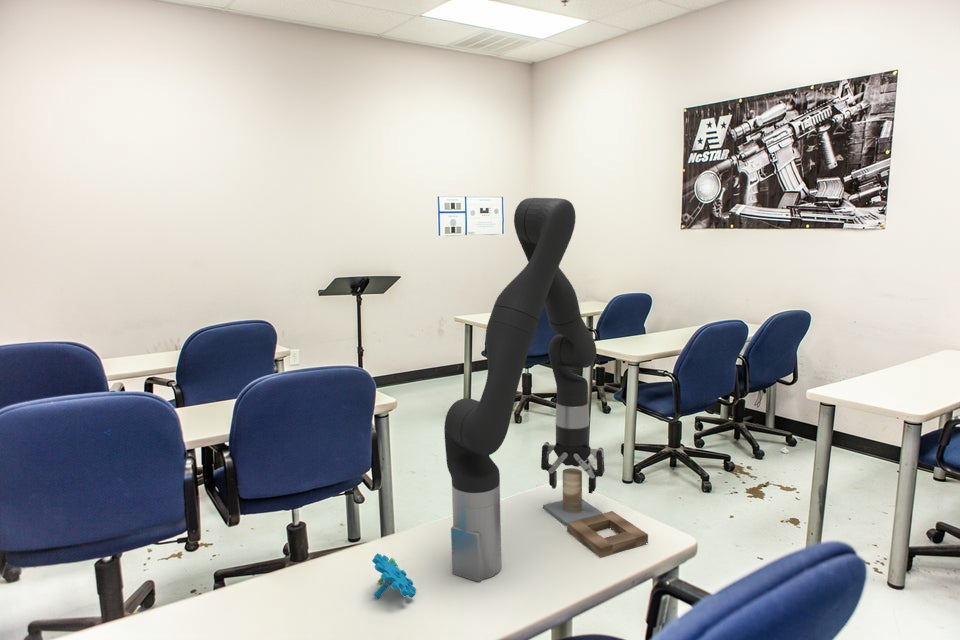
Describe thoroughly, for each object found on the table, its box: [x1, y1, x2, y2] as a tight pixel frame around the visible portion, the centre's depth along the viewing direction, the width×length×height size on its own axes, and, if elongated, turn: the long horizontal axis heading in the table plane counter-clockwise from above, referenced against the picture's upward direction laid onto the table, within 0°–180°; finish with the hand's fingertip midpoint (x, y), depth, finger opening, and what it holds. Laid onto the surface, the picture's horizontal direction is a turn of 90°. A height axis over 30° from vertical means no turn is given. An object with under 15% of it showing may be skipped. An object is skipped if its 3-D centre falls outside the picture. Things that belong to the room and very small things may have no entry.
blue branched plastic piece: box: [371, 553, 417, 600], centre depth 109 cm, size 11×6×10 cm
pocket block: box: [566, 510, 649, 558], centre depth 127 cm, size 12×12×2 cm
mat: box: [542, 498, 604, 527], centre depth 139 cm, size 10×10×1 cm
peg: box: [562, 467, 583, 513], centre depth 138 cm, size 4×4×9 cm
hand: (572, 489), depth 138 cm, fingers open, 8 cm apart
